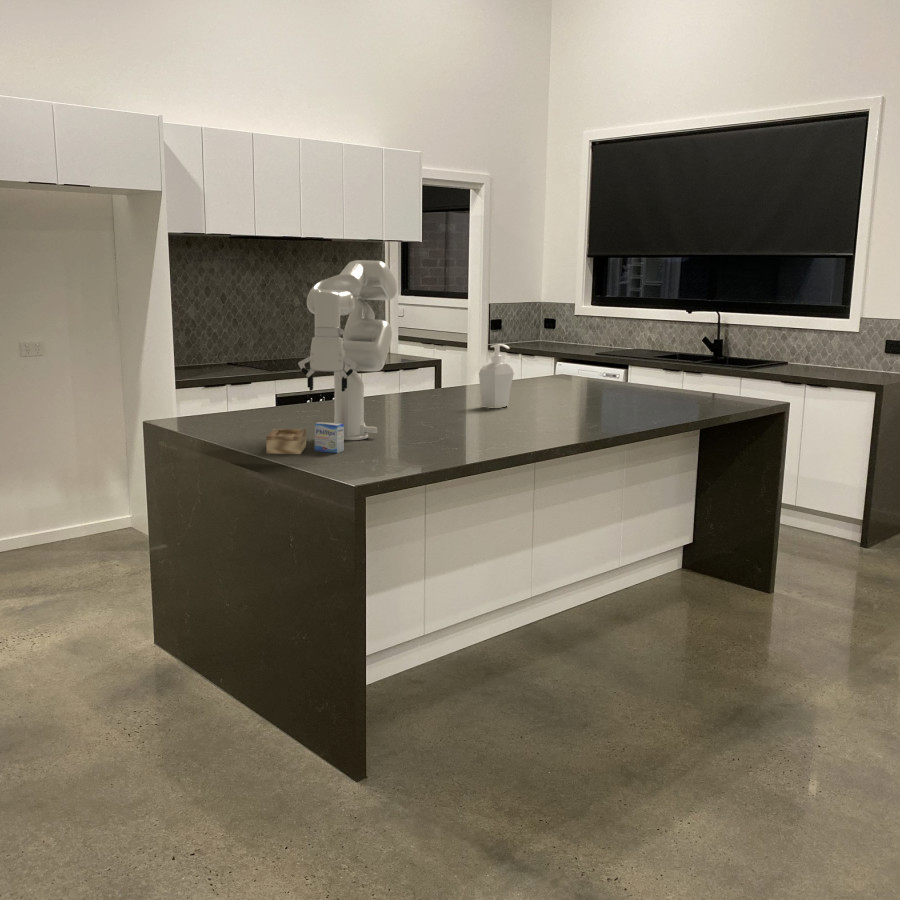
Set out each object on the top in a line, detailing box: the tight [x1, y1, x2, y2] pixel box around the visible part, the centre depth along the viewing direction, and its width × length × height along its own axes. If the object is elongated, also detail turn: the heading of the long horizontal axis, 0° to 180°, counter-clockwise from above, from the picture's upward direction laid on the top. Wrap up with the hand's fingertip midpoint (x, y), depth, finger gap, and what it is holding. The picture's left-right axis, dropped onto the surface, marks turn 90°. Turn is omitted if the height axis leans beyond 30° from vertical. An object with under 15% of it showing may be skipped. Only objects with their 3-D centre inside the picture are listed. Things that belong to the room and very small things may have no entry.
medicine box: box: [314, 421, 345, 454], centre depth 275 cm, size 8×4×9 cm, turn 69°
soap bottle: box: [478, 343, 514, 408], centre depth 368 cm, size 12×10×26 cm
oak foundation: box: [265, 428, 307, 455], centre depth 276 cm, size 10×13×5 cm
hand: (327, 390), depth 272 cm, fingers open, 9 cm apart
